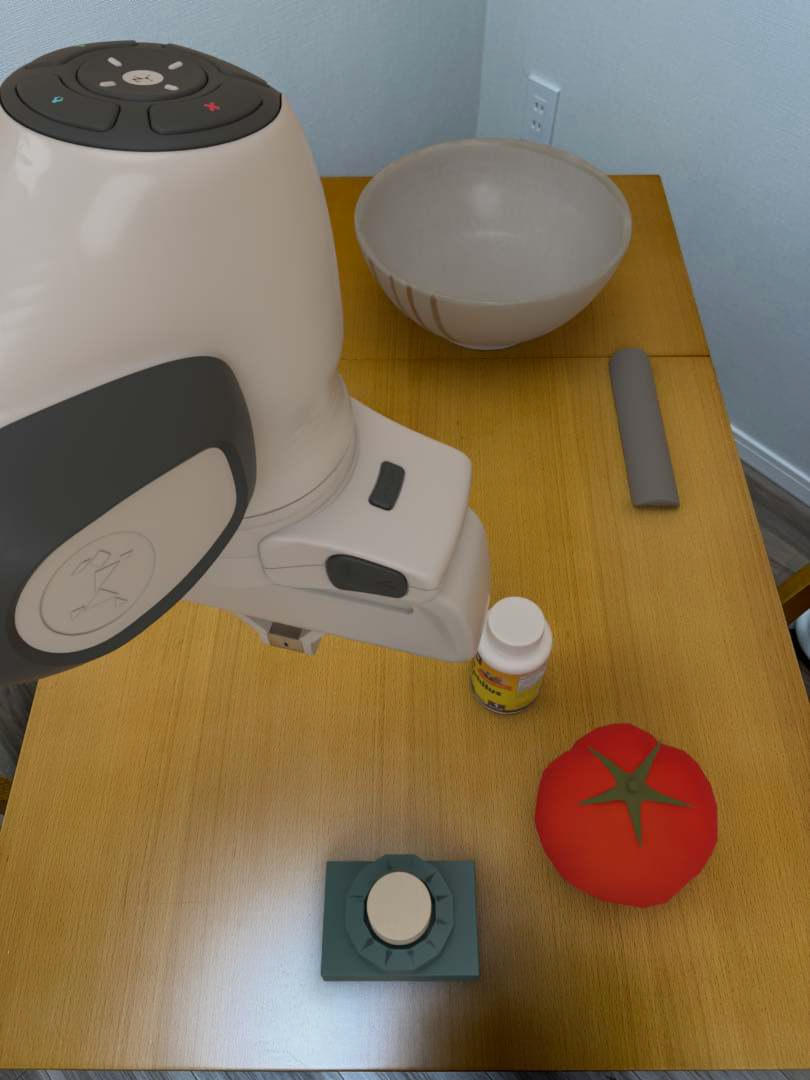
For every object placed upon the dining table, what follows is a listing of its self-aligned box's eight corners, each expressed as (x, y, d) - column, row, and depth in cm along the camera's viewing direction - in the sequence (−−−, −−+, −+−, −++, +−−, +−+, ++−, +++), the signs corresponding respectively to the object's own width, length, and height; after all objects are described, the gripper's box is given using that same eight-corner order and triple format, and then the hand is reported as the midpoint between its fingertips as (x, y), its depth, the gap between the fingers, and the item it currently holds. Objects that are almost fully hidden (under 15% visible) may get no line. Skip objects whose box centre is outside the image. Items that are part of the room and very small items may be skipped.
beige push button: (367, 945, 53) (366, 940, 52) (369, 878, 56) (367, 871, 54) (431, 945, 53) (431, 940, 52) (430, 878, 56) (430, 871, 54)
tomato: (678, 756, 64) (718, 697, 55) (710, 921, 57) (761, 883, 49) (518, 757, 64) (533, 699, 55) (531, 922, 57) (551, 885, 49)
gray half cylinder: (649, 360, 88) (653, 347, 86) (681, 512, 77) (686, 500, 75) (607, 360, 88) (610, 347, 87) (633, 512, 77) (637, 500, 75)
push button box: (323, 981, 55) (317, 971, 52) (329, 869, 59) (323, 853, 56) (477, 980, 55) (481, 970, 52) (473, 868, 59) (476, 852, 56)
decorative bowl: (349, 396, 86) (339, 299, 76) (372, 233, 101) (366, 134, 91) (620, 405, 84) (646, 307, 74) (601, 238, 100) (620, 138, 90)
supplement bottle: (456, 671, 68) (461, 605, 60) (516, 641, 69) (529, 573, 61) (492, 729, 65) (503, 669, 57) (554, 697, 67) (573, 634, 58)
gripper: (-20, 485, 34) (91, 645, 46) (477, 593, 31) (463, 737, 42) (56, 376, 38) (141, 551, 49) (510, 463, 35) (490, 629, 46)
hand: (293, 638), depth 46 cm, fingers closed
